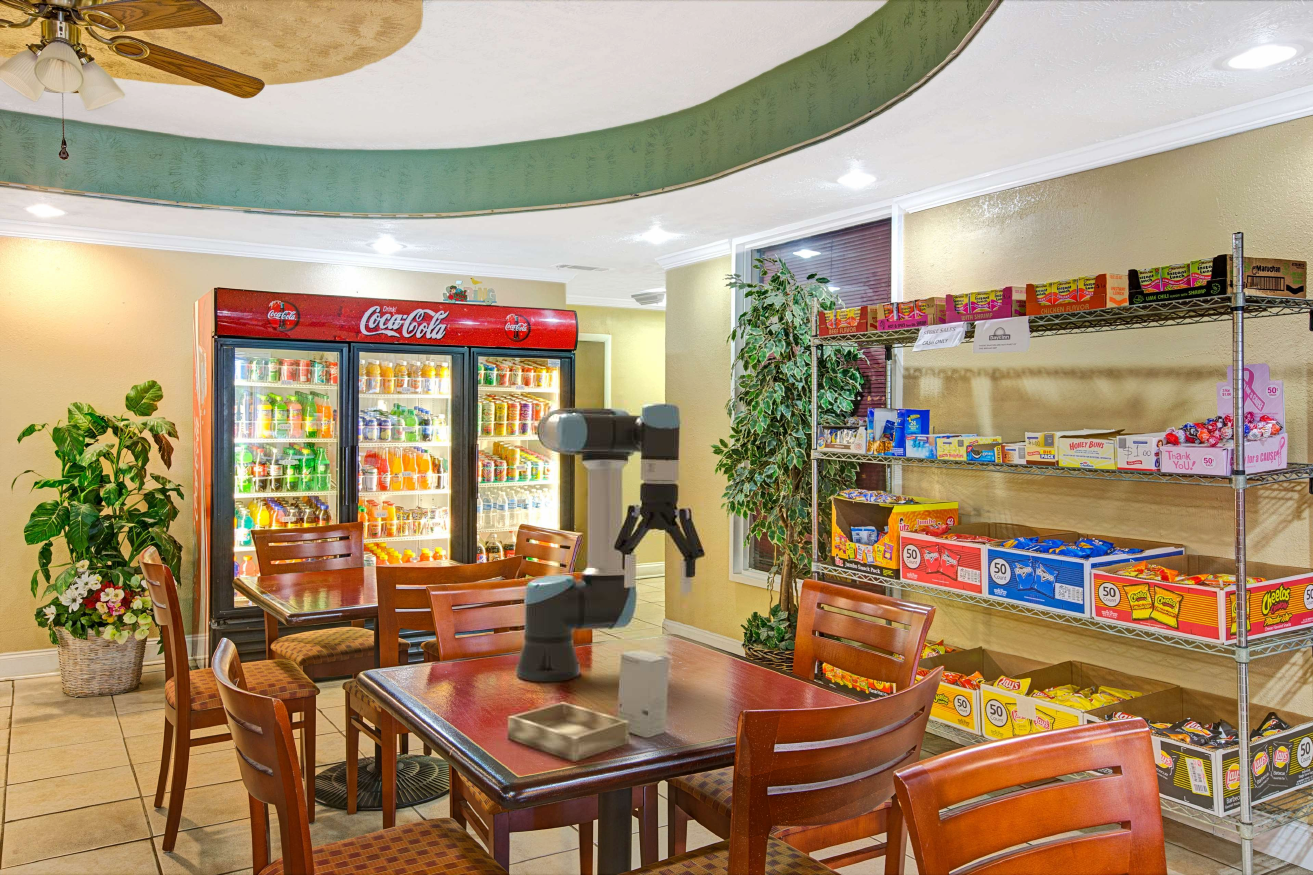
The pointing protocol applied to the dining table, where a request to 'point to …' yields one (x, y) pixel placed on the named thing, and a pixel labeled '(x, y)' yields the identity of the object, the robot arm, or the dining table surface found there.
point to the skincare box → (643, 692)
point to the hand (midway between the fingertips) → (657, 590)
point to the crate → (568, 730)
